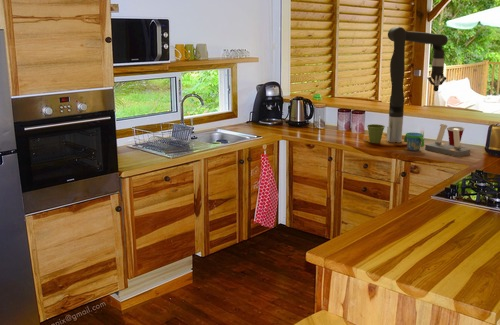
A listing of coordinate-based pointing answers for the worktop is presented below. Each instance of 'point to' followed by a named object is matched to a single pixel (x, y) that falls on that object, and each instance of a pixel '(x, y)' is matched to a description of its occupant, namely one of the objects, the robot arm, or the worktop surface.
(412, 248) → the worktop surface
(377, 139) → the plant pot
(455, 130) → the outer lever
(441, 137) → the inner lever
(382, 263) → the worktop surface
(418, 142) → the snack cup
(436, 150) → the switch base
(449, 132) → the plastic cup
